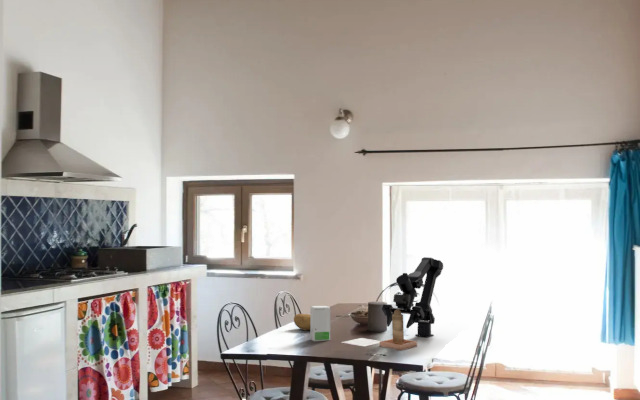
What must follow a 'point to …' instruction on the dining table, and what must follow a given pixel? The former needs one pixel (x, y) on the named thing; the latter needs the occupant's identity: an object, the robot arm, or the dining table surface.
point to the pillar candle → (376, 317)
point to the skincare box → (320, 323)
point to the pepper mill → (397, 327)
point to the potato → (302, 321)
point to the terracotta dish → (404, 346)
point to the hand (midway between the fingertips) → (397, 326)
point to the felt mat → (362, 342)
